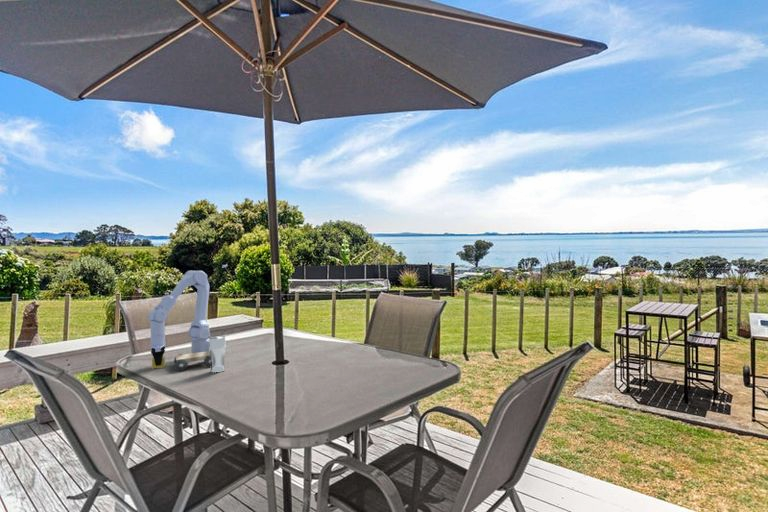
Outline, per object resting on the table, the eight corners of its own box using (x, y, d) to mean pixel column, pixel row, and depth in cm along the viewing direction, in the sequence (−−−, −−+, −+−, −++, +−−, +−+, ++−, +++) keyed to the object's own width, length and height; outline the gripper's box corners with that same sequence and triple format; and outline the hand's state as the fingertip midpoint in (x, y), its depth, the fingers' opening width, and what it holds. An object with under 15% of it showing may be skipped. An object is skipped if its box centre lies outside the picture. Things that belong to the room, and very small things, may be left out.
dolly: (213, 360, 192) (213, 340, 192) (216, 366, 181) (216, 345, 181) (174, 365, 183) (174, 344, 183) (175, 372, 173) (174, 350, 173)
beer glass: (205, 372, 172) (205, 338, 172) (219, 368, 178) (218, 335, 178) (216, 374, 169) (215, 339, 169) (229, 370, 175) (229, 336, 175)
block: (164, 365, 184) (164, 356, 184) (164, 367, 181) (164, 357, 181) (152, 367, 182) (152, 357, 182) (152, 369, 178) (151, 359, 178)
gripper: (148, 333, 185) (148, 361, 185) (147, 338, 173) (147, 369, 173) (165, 331, 189) (165, 359, 189) (165, 336, 176) (166, 366, 176)
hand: (158, 364), depth 181 cm, fingers closed on block, 4 cm apart
